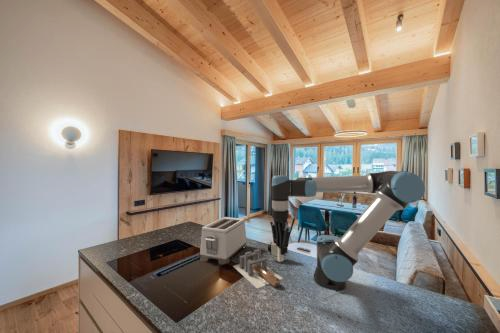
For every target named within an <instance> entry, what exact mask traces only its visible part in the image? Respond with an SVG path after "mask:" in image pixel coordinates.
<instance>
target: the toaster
mask: <svg viewBox="0 0 500 333" xmlns="http://www.w3.org/2000/svg"><path fill="white" fill-rule="evenodd" d="M247 238H248V237H247V229H246V221H245V218H237V217H230V216H224V217H222V218H219V219H217V220H215V221H213V222H211V223H209V224H206V225H203V226H202V227H201V240H200V249H199V250H200V251H199V253H200V259H199V261H201V262H208V261H210V260H211V259H212V260H217V261H218V265H226V264H230V262H231V261H230V258H232V256H233V255H235V254H236V253H237V252H238V251H240V250H241V249H243V248H242V247H246V246H247V247H248V245H247V241H248V239H247ZM247 247H246V248H247Z"/></svg>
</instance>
